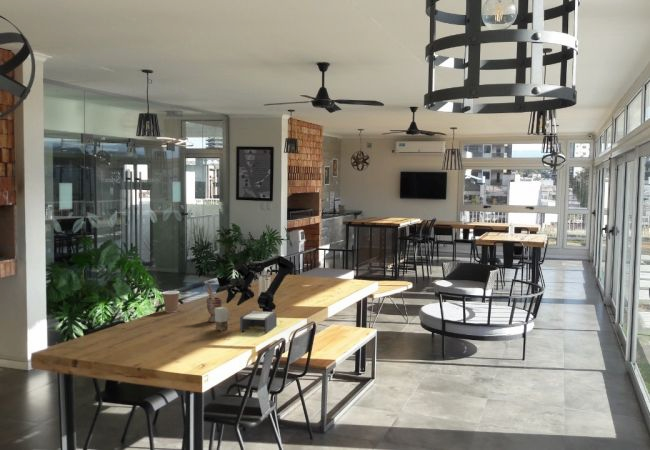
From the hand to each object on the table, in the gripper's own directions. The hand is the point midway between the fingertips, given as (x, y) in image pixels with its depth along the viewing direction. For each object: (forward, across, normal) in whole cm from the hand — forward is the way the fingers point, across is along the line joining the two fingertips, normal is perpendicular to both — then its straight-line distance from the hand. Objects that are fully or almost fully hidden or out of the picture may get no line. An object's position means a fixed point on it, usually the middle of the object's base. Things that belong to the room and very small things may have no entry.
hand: (232, 304), depth 343 cm
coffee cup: (+8, -62, +11) cm, 63 cm away
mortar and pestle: (+8, -22, +11) cm, 25 cm away
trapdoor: (+1, +14, +11) cm, 18 cm away
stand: (+15, 0, +4) cm, 15 cm away
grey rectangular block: (+11, 0, 0) cm, 11 cm away
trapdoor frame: (+5, +14, +14) cm, 20 cm away
